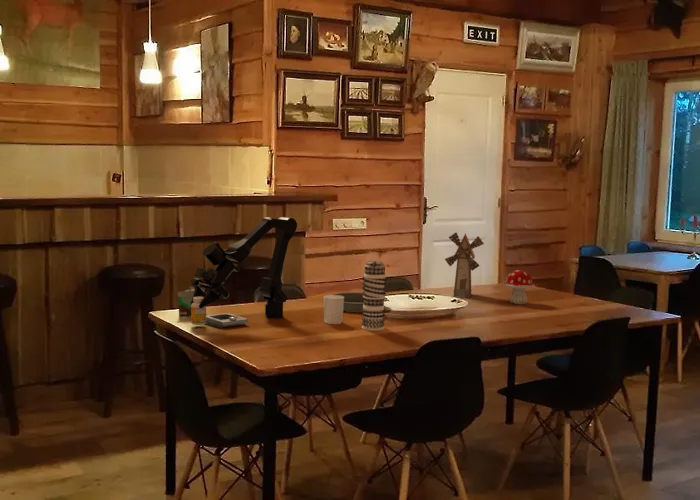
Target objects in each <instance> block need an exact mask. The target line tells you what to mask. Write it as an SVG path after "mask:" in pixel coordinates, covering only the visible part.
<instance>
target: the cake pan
mask: <svg viewBox="0 0 700 500" xmlns="http://www.w3.org/2000/svg"><path fill="white" fill-rule="evenodd" d="M362 293H363V292H338V293H333V294H331V295H339V296H343V297H344V307H343V312H350V313H364V312H363V311H362V309H363V304H364V297H363V294H362ZM386 301H387V298H386V297H385V298H384V302H386Z"/></svg>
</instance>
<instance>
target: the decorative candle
mask: <svg viewBox="0 0 700 500" xmlns="http://www.w3.org/2000/svg"><path fill="white" fill-rule="evenodd" d="M363 266H364V273H363V276H362V278H361V279H362V290H363V291H362V292H361V293H362V294H363V297H364V304H363V309H362V311H363V312H361V315H362V316H363V317H362V318H361V320H362V321H361V325H362V326H361V329H363V330H366V331H383V330H384V329H385V322H386V321H385V319H386V318H385V312H386V310H385V301H384V298H386V296H385V295H386V294H387V293H386V292H385V291H386V290H387V288H386V287H385V286H387V285H388V284H387V281H388V279H387V278H386V265H385V264H384V262H382V261H379V260H369V261H367V262H366V263H365V264H364V265H363Z"/></svg>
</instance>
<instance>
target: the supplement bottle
mask: <svg viewBox="0 0 700 500" xmlns="http://www.w3.org/2000/svg"><path fill="white" fill-rule="evenodd" d="M203 298H204V297H200V296H199V297H193V302H194V303H192V305H191V316H190V318H191V319H190V321H191V324H192V325H194V326H202V325H207V324H206V315H207V305H206V306H204V307H203V308H200V307H199V305H200V303H201V302H202V300H203Z"/></svg>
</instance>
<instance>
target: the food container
mask: <svg viewBox="0 0 700 500" xmlns="http://www.w3.org/2000/svg"><path fill="white" fill-rule="evenodd" d="M194 292H195V289H194V286H189V288H188V289H184V290H183V291H180V290H179V291H177V297H178V298H177V299H178V300H177V301H178V316H179V317H191V304H190V303H191V300H192V298H193V295H194Z"/></svg>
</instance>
